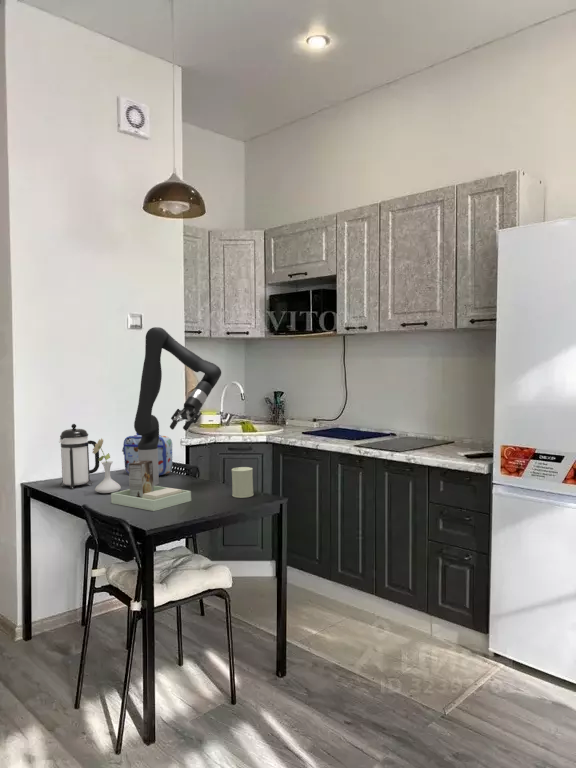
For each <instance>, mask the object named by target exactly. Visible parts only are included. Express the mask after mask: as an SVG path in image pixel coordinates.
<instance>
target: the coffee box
mask: <svg viewBox="0 0 576 768" xmlns="http://www.w3.org/2000/svg"><path fill="white" fill-rule="evenodd" d="M128 481H129V482H128V484H129V489H130V496H132V497H138V498H142V495H143V494H145V493H149V492H153V491H154V488H153V466H152V461H136V462H133V463H131V464H129V474H128Z"/></svg>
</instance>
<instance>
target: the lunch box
mask: <svg viewBox="0 0 576 768" xmlns="http://www.w3.org/2000/svg"><path fill="white" fill-rule="evenodd" d="M141 438H142V435H139V434H137V433H136V432H135V435H129V436H126V438H124V440H123V447H122V449H121V452H123V453H122V454H123V456H124V457H123V458H124V459H123V460H124V468H125V471H126V473H127V474H128V475H129V464H131V463H133V462H136V461H138V443H139V442H140V440H141ZM172 470H173V441H172V439H171V438H170V437H169V436H165V435H162V434H161V435H160V434H159V442H158V472H159V476H163V475H165V474H166V475H167V474H169V473H171V471H172Z"/></svg>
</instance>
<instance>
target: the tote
mask: <svg viewBox="0 0 576 768" xmlns="http://www.w3.org/2000/svg"><path fill="white" fill-rule="evenodd" d="M153 488H154V491H157V490H161V489H165V488H168V487H166V486H159V485H153ZM181 491H182V493H180V494H176V495H172V496H168V497H164V498H160V499H156V500H150V499H144V498H138V497H132V496H130V488H128V489H124V490H119V491H116V492H112V493H110V498H111V499H110V500H111V504H112V505H118V506H119V505H120V506H125V507H130V508H136V509H141V510H144V511H145V510H146V511H150V512H151V511H152V512H155V511H159V510H163V509H167V508H170V507H175V506H177V505H182V504H184V503H188V502H192V491H191V490H186V489H181Z"/></svg>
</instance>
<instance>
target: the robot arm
mask: <svg viewBox="0 0 576 768" xmlns="http://www.w3.org/2000/svg"><path fill="white" fill-rule="evenodd" d="M144 342H145V346H144V347H145V351H144V361H143V366H142V373H141V379H140V390H139V397H138V402H137V403H138V404H137V409H136V414H135V417H134V422H133V426H134V432H135V434H136V433H137V434H139V435H142V438H141V440H140V442H139V443H138V461H152V466H153V485H154V486H159V484H160V481H159V480H160V477H159V476H160V475H159V472H158V442H159V435H160V423H159V420H158V417H156V416H155V415H154V414H152V413H153V407H154V404H155V402H156V400H157V398H158V396H159V393H160V391H161V385H162V375H163V372H162V370H163V369H162V364H161V363H162V362H161V357H162V352H163V351H162V350H163V349H164V350H165V351H167V352H169V353H170V354H171V355H172V356H174V357H175V358H176V359H177V360H179V362H181V363H182V364H183V365H184V366H186V367H187V368H188V369H190V370H192V371H193V372H195V373H199V372H201V373H203V374H204V375H203V377H202V378H201V380H200V381H199V382H198V384H196V386H195V387H194V389H193V390H192V391H191V392H190V394H189V395H188V397H187V399H186V401H185V402H184V403H183V408H182V409H180V408H177V409H176V410H175V411H174V413H173V415H172V416H171V418H170V419H171V420H172V421H171V423H170V425H169V428H170V429H171V430H174V429H175V428H176V426H177V425H178V424H179V422H183V421H184V420H187V421H185V423H184V425H183V426H182V429H183V430H184V431H185V432H186V431H188V430H189V428H190V426H191V425H193V424H196V423H197V422H198V421H199V418H200V417H201V414H202V413H201V412H200V410H201V409H202V408H203V406H204V404H205V402H206V401H207V399H208V397H209V395H210V394H211V392H212V390H213V388H215V386H216V384H217V383H218V382H219V380H220V378H221V376H222V369H221V368H220V367H219V366H218V365H217V364H215V363H213V362H211V361H208V360H206V359H203V358H202V357H200V356H198V354H196V353H195V352H193V351H191V350H190V349H188V348H187V347H186V346H184V345H182V344H181V343H180V342H178V341H177V340H176V339H174V337H172V335H171V334H170V333H168V332H167V330H165V329H164V328H162V327H158V326H157V327H155V326H154V327H151V328H149V329H148V330H147V331H146V334H145V341H144ZM137 434H136V435H137Z"/></svg>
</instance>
